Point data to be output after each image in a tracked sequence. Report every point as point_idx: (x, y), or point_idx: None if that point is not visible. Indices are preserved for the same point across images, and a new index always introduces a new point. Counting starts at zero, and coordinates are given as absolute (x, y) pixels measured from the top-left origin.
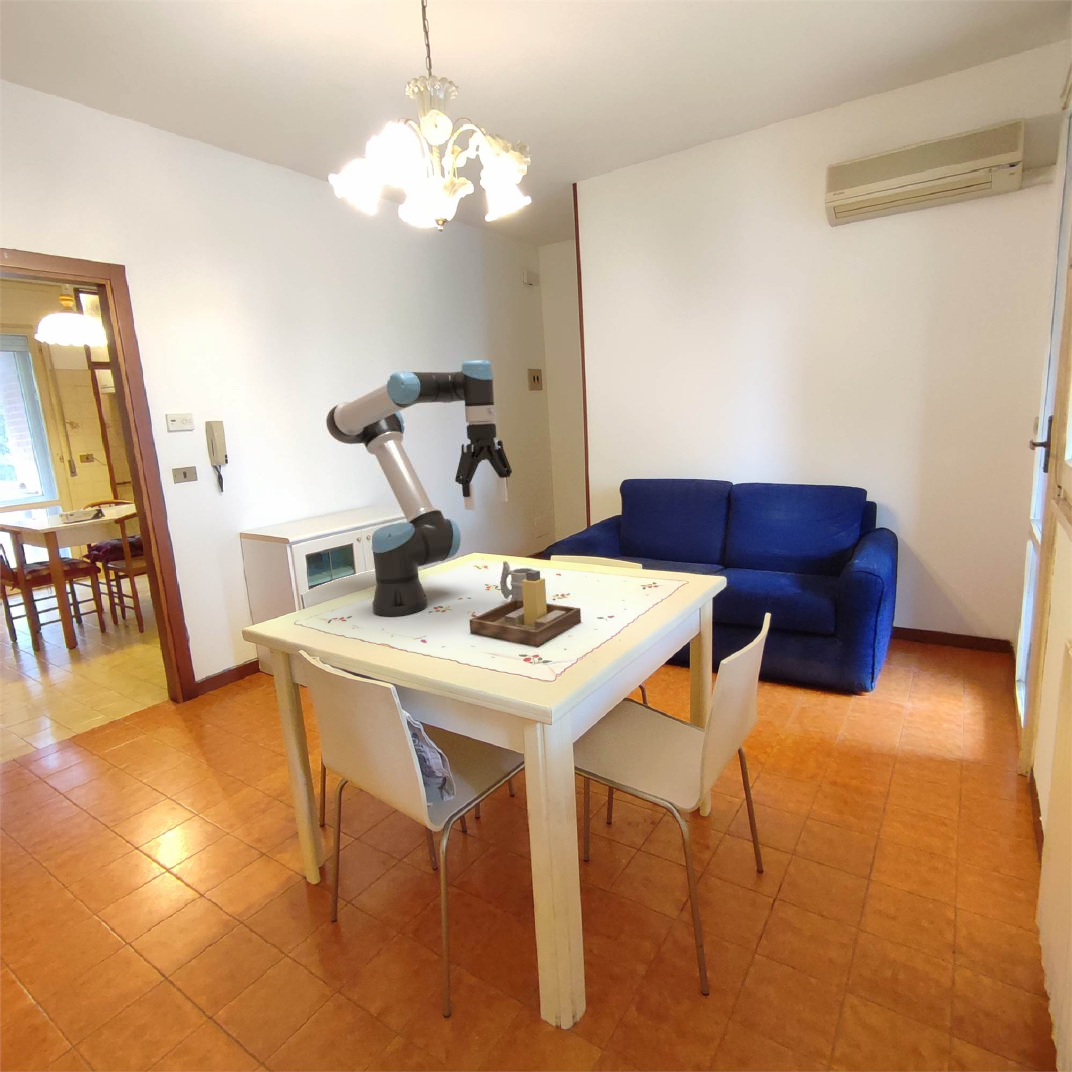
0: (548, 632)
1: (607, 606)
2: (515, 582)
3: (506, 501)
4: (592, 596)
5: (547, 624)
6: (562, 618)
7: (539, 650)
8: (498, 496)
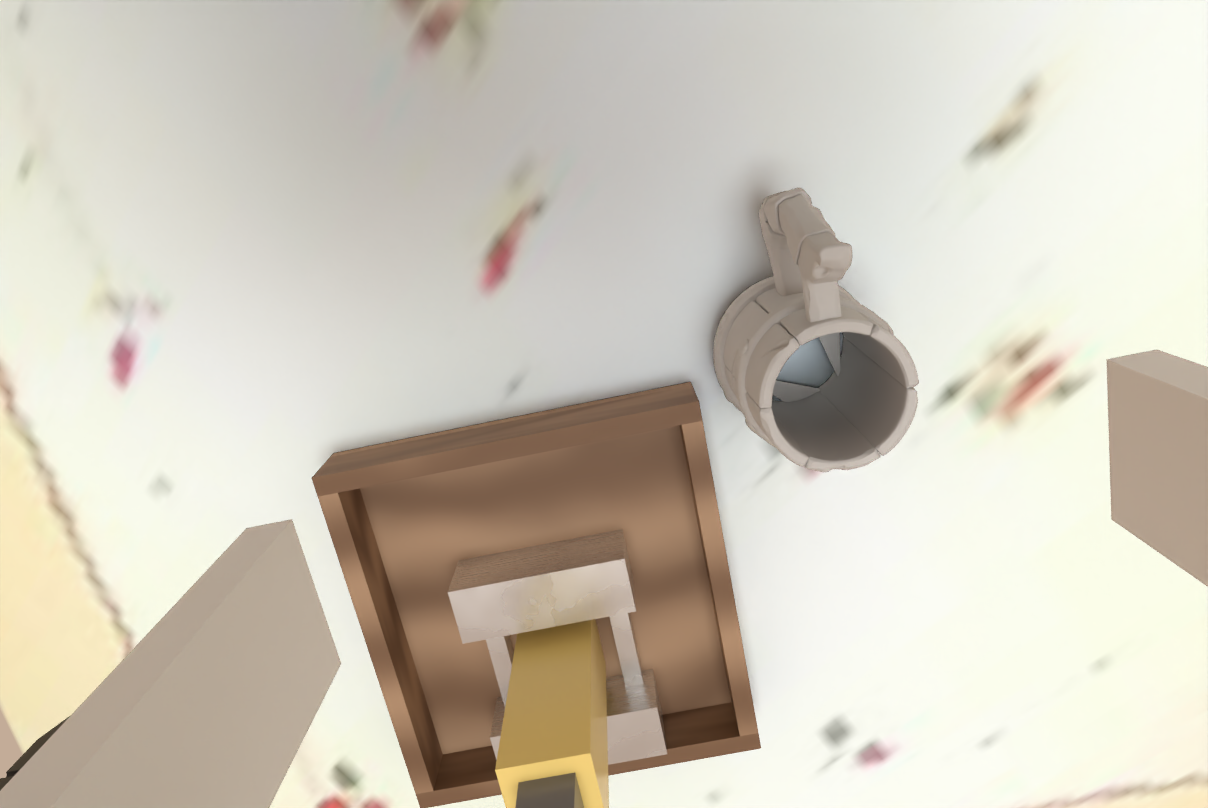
0: None
1: (985, 664)
2: (747, 390)
3: (1127, 519)
4: (1090, 515)
5: None
6: (611, 774)
7: None
8: (1169, 399)
